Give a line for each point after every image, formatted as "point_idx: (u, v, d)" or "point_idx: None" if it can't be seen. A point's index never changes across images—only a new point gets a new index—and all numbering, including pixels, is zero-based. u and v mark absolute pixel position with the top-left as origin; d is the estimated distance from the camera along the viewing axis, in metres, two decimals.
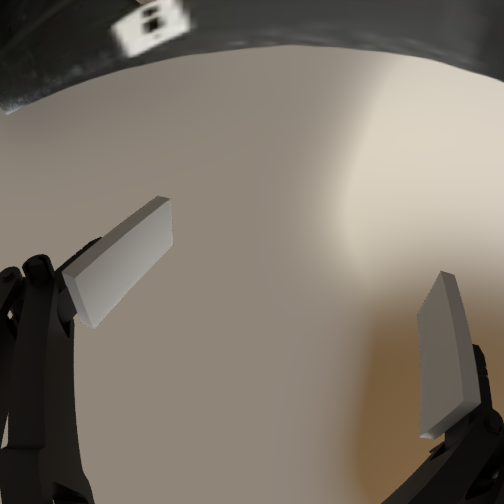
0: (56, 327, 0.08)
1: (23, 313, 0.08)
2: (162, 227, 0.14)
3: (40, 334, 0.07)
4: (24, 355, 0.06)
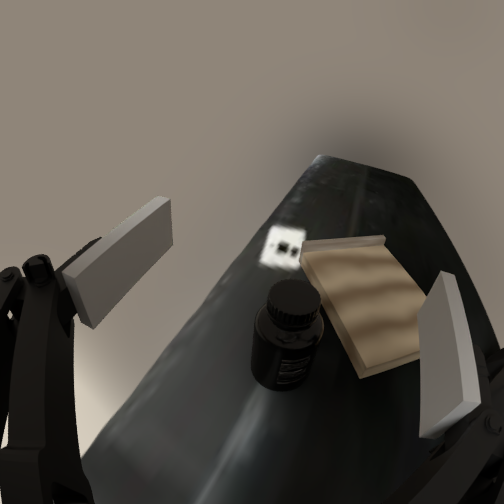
0: (56, 327, 0.08)
1: (23, 313, 0.08)
2: (162, 227, 0.14)
3: (41, 334, 0.07)
4: (24, 355, 0.06)
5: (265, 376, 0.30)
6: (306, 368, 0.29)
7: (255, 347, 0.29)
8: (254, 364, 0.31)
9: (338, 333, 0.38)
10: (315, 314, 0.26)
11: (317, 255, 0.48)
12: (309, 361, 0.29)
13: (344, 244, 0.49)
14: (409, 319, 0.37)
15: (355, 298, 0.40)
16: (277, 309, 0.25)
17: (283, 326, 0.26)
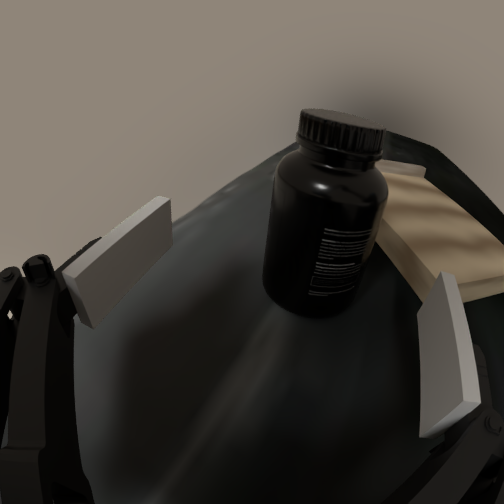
0: (56, 327, 0.08)
1: (23, 313, 0.08)
2: (162, 227, 0.14)
3: (40, 334, 0.07)
4: (24, 355, 0.06)
5: (289, 278, 0.18)
6: (360, 265, 0.17)
7: (274, 219, 0.17)
8: (270, 261, 0.19)
9: (388, 252, 0.26)
10: (380, 142, 0.14)
11: None
12: (367, 248, 0.16)
13: (380, 165, 0.37)
14: (474, 243, 0.25)
15: (404, 212, 0.28)
16: (318, 119, 0.14)
17: (330, 151, 0.14)
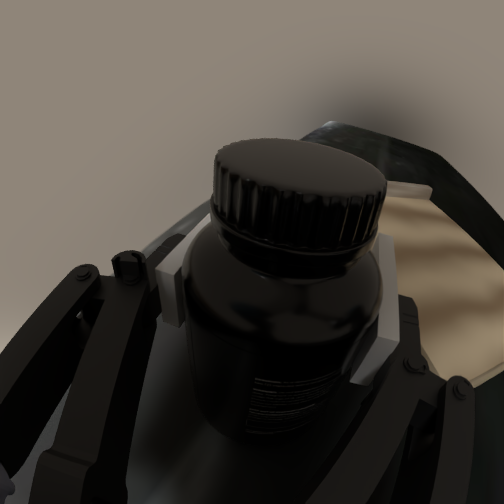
0: (137, 333, 0.09)
1: (102, 309, 0.09)
2: None
3: (119, 339, 0.08)
4: (95, 357, 0.07)
5: (217, 412, 0.11)
6: (325, 400, 0.10)
7: (187, 334, 0.10)
8: (193, 379, 0.12)
9: None
10: (374, 217, 0.07)
11: None
12: (337, 382, 0.10)
13: None
14: (492, 299, 0.18)
15: (406, 260, 0.21)
16: (236, 179, 0.07)
17: (259, 248, 0.07)
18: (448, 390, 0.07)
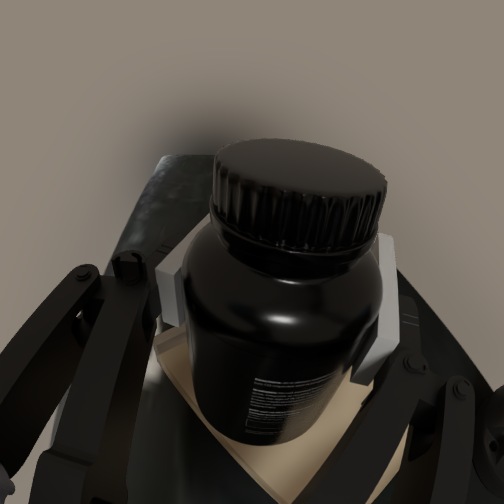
0: (138, 333, 0.09)
1: (102, 309, 0.09)
2: None
3: (119, 338, 0.08)
4: (95, 357, 0.07)
5: (216, 412, 0.11)
6: (325, 400, 0.10)
7: (186, 334, 0.10)
8: (193, 379, 0.12)
9: (263, 487, 0.18)
10: (374, 217, 0.07)
11: (184, 351, 0.27)
12: (336, 383, 0.10)
13: None
14: None
15: None
16: (236, 179, 0.07)
17: (259, 249, 0.07)
18: (448, 390, 0.07)
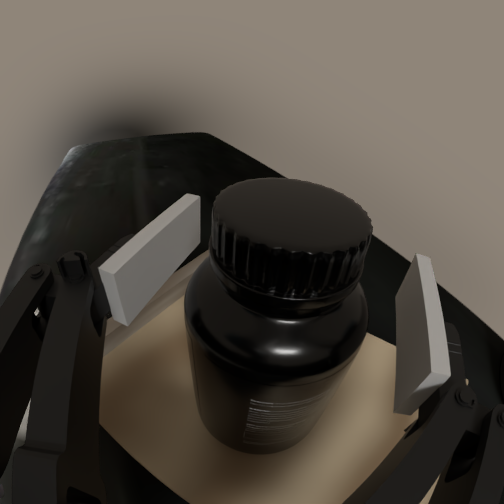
0: (88, 327, 0.08)
1: (53, 308, 0.08)
2: (192, 224, 0.15)
3: (71, 333, 0.07)
4: (51, 354, 0.07)
5: (217, 424, 0.12)
6: (316, 415, 0.11)
7: (189, 357, 0.11)
8: (195, 394, 0.13)
9: None
10: (358, 263, 0.08)
11: None
12: (325, 401, 0.10)
13: (146, 312, 0.19)
14: (393, 421, 0.15)
15: (255, 464, 0.13)
16: (232, 233, 0.08)
17: (253, 294, 0.08)
18: (493, 417, 0.06)
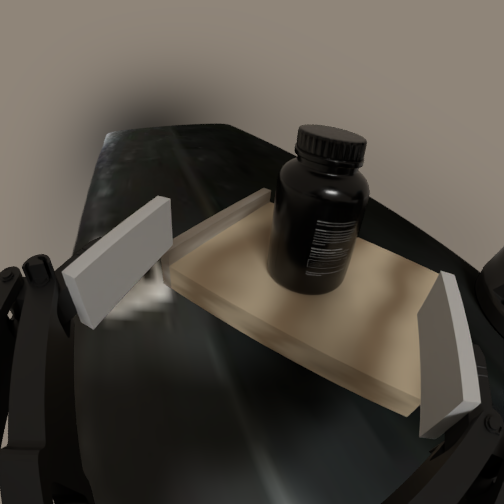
0: (56, 327, 0.08)
1: (23, 313, 0.08)
2: (162, 227, 0.14)
3: (40, 334, 0.07)
4: (24, 355, 0.06)
5: (290, 261, 0.22)
6: (347, 251, 0.21)
7: (277, 214, 0.22)
8: (273, 248, 0.23)
9: (325, 375, 0.20)
10: (361, 152, 0.18)
11: (194, 259, 0.26)
12: (352, 236, 0.21)
13: (223, 222, 0.29)
14: (394, 288, 0.25)
15: (310, 302, 0.23)
16: (312, 136, 0.18)
17: (321, 160, 0.18)
18: None
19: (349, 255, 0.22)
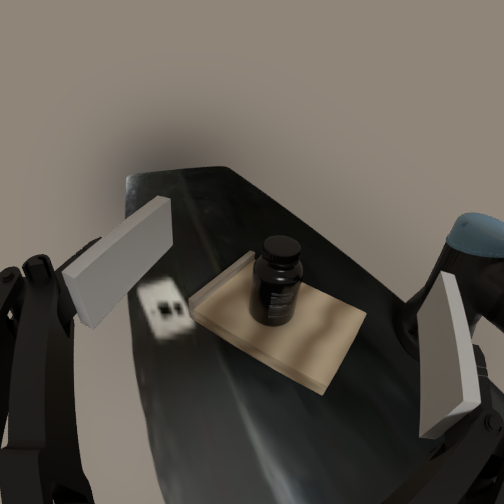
0: (56, 327, 0.08)
1: (22, 313, 0.08)
2: (162, 227, 0.14)
3: (40, 334, 0.07)
4: (24, 355, 0.06)
5: (259, 310, 0.41)
6: (290, 305, 0.41)
7: (253, 286, 0.41)
8: (251, 302, 0.43)
9: (277, 369, 0.39)
10: (296, 258, 0.38)
11: (208, 304, 0.45)
12: (292, 298, 0.40)
13: (224, 279, 0.49)
14: (324, 322, 0.44)
15: (271, 330, 0.42)
16: (269, 252, 0.37)
17: (273, 265, 0.37)
18: None
19: (292, 306, 0.41)
